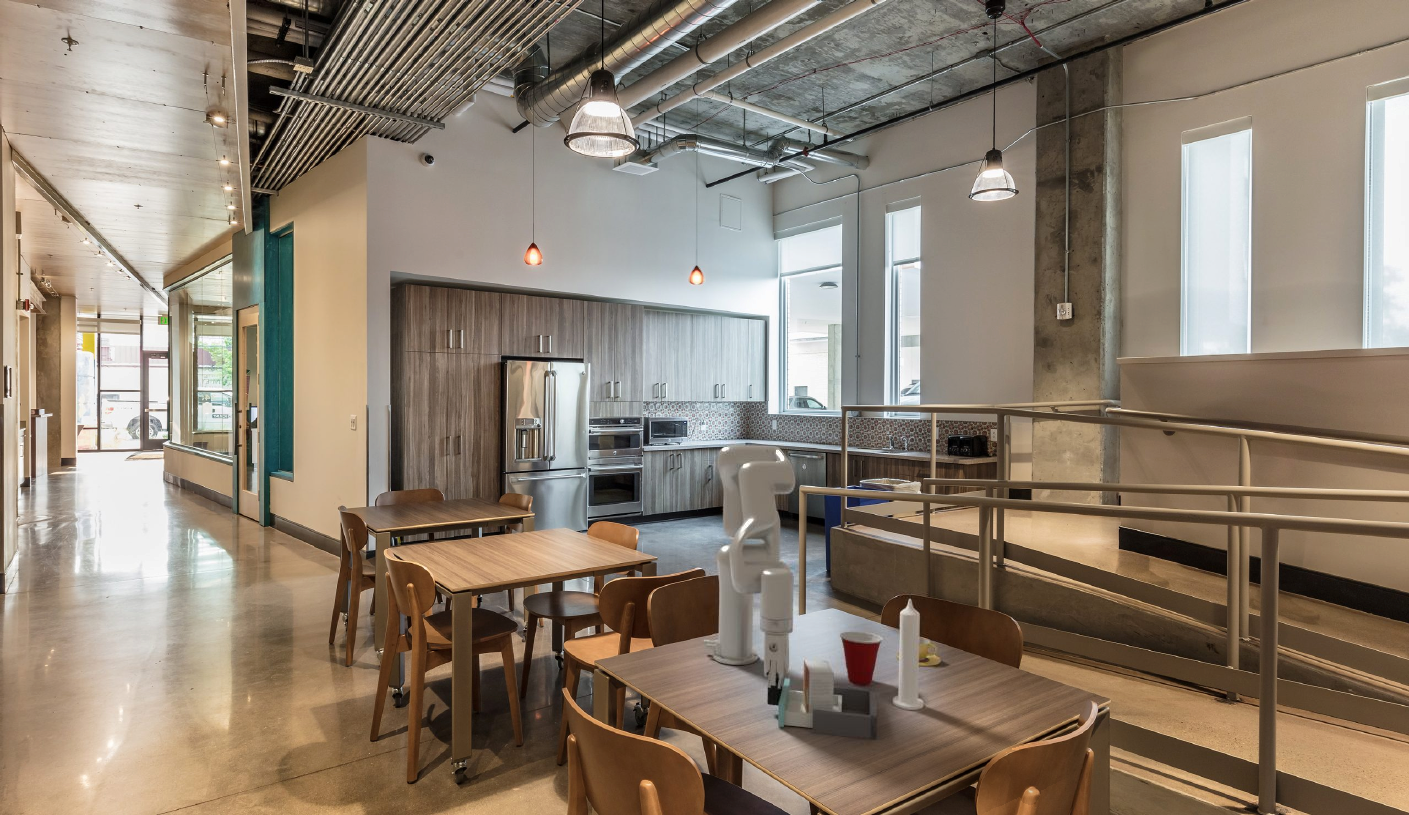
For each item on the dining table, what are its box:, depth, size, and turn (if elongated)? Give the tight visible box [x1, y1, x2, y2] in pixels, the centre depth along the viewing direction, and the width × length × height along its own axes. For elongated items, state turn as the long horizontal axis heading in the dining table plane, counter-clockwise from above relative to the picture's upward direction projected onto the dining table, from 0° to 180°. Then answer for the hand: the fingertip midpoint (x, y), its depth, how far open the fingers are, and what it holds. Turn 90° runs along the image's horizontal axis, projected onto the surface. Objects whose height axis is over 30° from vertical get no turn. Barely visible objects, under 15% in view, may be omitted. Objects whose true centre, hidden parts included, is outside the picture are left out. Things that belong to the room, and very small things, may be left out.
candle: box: [892, 598, 925, 711], centre depth 172 cm, size 7×7×25 cm
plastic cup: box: [839, 630, 884, 687], centre depth 186 cm, size 11×11×12 cm
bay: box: [811, 685, 878, 740], centre depth 163 cm, size 13×16×4 cm
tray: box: [777, 678, 843, 729], centre depth 164 cm, size 13×15×5 cm
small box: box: [802, 659, 835, 713], centre depth 164 cm, size 8×6×10 cm
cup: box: [896, 636, 942, 667], centre depth 204 cm, size 12×12×5 cm
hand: (774, 703), depth 166 cm, fingers closed
